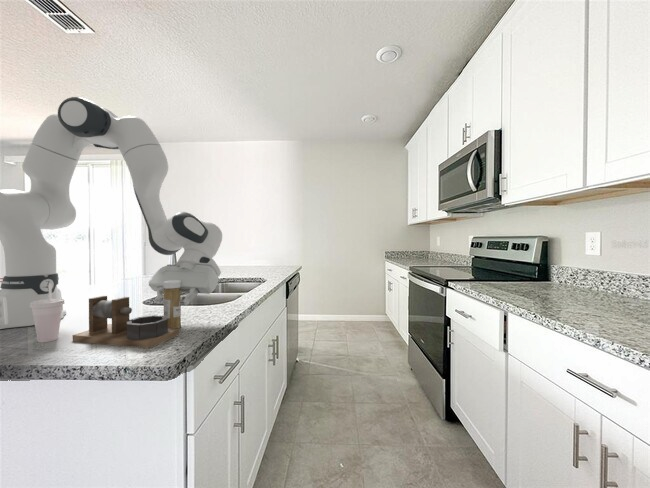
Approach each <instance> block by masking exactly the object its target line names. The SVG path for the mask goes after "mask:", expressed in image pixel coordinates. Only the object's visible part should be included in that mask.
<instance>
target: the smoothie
mask: <svg viewBox="0 0 650 488" xmlns="http://www.w3.org/2000/svg"><path fill="white" fill-rule="evenodd" d="M64 304H65V299H64V298H62V299H52V283H49V299H46V300H38V301H34V302H31V303H30V307H31V308H32V313H33V318H34V323H35V325H34V328H35V335H36V337H37V343H49V342H54V341H56V340H58V338H59V334H60V327H61V320H62V318H61V314H62V307H63V308H64V306H63V305H64Z"/></svg>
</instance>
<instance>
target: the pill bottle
mask: <svg viewBox="0 0 650 488" xmlns="http://www.w3.org/2000/svg"><path fill="white" fill-rule="evenodd" d="M180 287H181V281H180V280H168V281H164V282H163V288H164V294H163V298H164V301H163V316H166V317H167V319H168V329H180V328H181V327H182V324H181V322H182V321H181V320H182V319H181V318H182V314H181V313H182V307H181V306H182V304H181V303H180V301H181V300H182V298H181V293H180V289H181V288H180Z"/></svg>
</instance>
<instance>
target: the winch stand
mask: <svg viewBox="0 0 650 488" xmlns="http://www.w3.org/2000/svg"><path fill="white" fill-rule="evenodd" d="M132 312H133V309H132V307H130V296H124V297H118V298H114V299H113V298H112V299H111V300H108V295H100V296H95V297H89V298H88V330H85V331H82V332H79V333H75V334H72V342H74V343H75V342H77V343H85V344H86V343H88V344H96V345H97V344H100V345H108V346H119V347H129V348H130V347H131V348H140V349H151V348H153V347H155V346H157V345H160V344H162V343H165V342H167V341H168V340H171V339H173V338H175V337H178V336H179V334H180V333H179V331H180V330H179V329H180V328H178V329H168V319H167V317H166V316H164V315H158V314H156V315H153V314H152V315H146V316H137V317H134V318H131V319H130V314H131V313H132ZM108 319H111V323H108Z"/></svg>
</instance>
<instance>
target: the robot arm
mask: <svg viewBox="0 0 650 488" xmlns="http://www.w3.org/2000/svg"><path fill="white" fill-rule="evenodd" d="M157 138H158V137H156V135H155V134H154V132H153V131H152V129H151V127H150V126H149V125H148V124H147V122H146V121H144V119H142V118H140V117H138V116H133V115H132V116H131V115H127V116H123V117H119V116H118V115H116V114H115V113H113V112H112V111H111V110H109V109H107V108H105V107H102V106H100V105H99V104H97V103H95V102H93V101H91V100H89V99H86V98H83V97H79V96H72V97H69V98H68V97H67V98H66V99H64V100H63V101H62V102H60V104H59V105H58V108H57V114H55V113H54V114H50V115H48V116H46V118H45V119H44V120H43V122H42V123H41V124H40V126H39V127H38V129H37V131H36V133H35V134H34V136H33V138H32V141H31V143H30V146H29V147H28V149H27V152H26V154H25V158H24V160H23V162H22V165H21V166H22V171H23V172H24V174H26V175H27V177H28V178H29V179H30V190H29V191H24V190H20V189H19V190H18V189H11V188H1V189H0V242H1V246H2V247H3V251H4V262H5V263H4V266H5V267H4V268H5V275H4V276H3V277H2V278H0V283H1V284H0V330H3V329H9V328H11V329H12V328H22V327H29V326H35V323H34V318H33V313H32V308H31V307H30V303H31V302H34V301H38V300H46V299H49V283H52V299H63V298H62V291H61V290H60V288H58V285H59V273H57V250H56V248H55V247H54V245H52V244H50V243H49V242H48V241H47V240H46V239H45V237H44V235H43V233H42V230H58V229H62V228H63V229H64V228H68V227H70V226H71V225H72V224H73V223H74V222H75V220H76V218H77V211H76V207H75V206H74V204H73V203H72V201H71V197H70V185H71V181H72V178H73V176H74V173H75V170H76V167H77V165H78V162H79V159H80V158H81V154H82V153H83V151H84V149H85V147H87V146H89V145H93V147H95V148H100V149H101V148H102V149H110V150H119V152H120V153H121V155H122V158H123V159H124V162H125V163H126V166H127V168H128V172H129V174H130V178H131V181H132V186H133V192H134V195H135V198H136V200H137V203H138V207H139V209H140V211H141V214H142V216H143V218H144V221H145V224H146V227H147V231H148V241H149V244H150V246H151V248H152V249H154V251H155V252H157V253H159V254H161V255H164V256H171V255H175V254H176V253H178V252H179V251H180V250H182V249H183V250H184V251H183V252H182V254H181V255H180V257H179V259H178V260H177V262H176V263H175V264H166V265H165V266H161V267H160V268H159V269H158V270H157V271H156V272H155V273H154V274H153V276H152V277H151V278H150V279H149V281H148V287H149V288H150V289H151V290H152V291H154V292H156V297H155V298H154V302H155V304H164V288H163V282H164V281H168V280H180V281H181V287H180V288H181V289H180V294H181V293H182V294H183V293H184V294H185V293H186V294H187V295H185V296H182V297H181V301H180V303H181V306H189V303H190V302H191V301H192V300H193V299H195V298H196V297H197V296H198V295H199V294H203V295H204V294H205V295H210V294H211V293H213V292H214V291H215V290H216V287H217V285H218V283H219V277H220V275H221V274H222V271H221V269H220V267H219V265H218V264H217V263H216V261H215V260H214V259H213V258H214V257H215V256H216V255H217V253H218V251H219V249H220V247H221V244H222V241H223V233H222V230H221V228H220V227H219V226H217V225H216V224H214V223H213V222H205V221H202V220H200V219H199V218H197V217H196V216H195V215H193V214H192V213H189V212H186V211H180V212H177V213H175V214H174V215H172V216H171V217H169V218H167V216H166V213H165V210H164V207H163V205H162V203H161V198H160V194H161V193H160V192H161V187H162V185H163V183H164V181H165V180H166V179H165V178H166V177H167V174H168V171H169V163H168V159H167V156H166V153H165V152H164V149H163V148H162V146H161V144H160V142H159V140H158V139H157ZM65 315H67V311H66V310H64V306H63V307H62V314H61V319H63V318H64V317H65Z"/></svg>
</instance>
